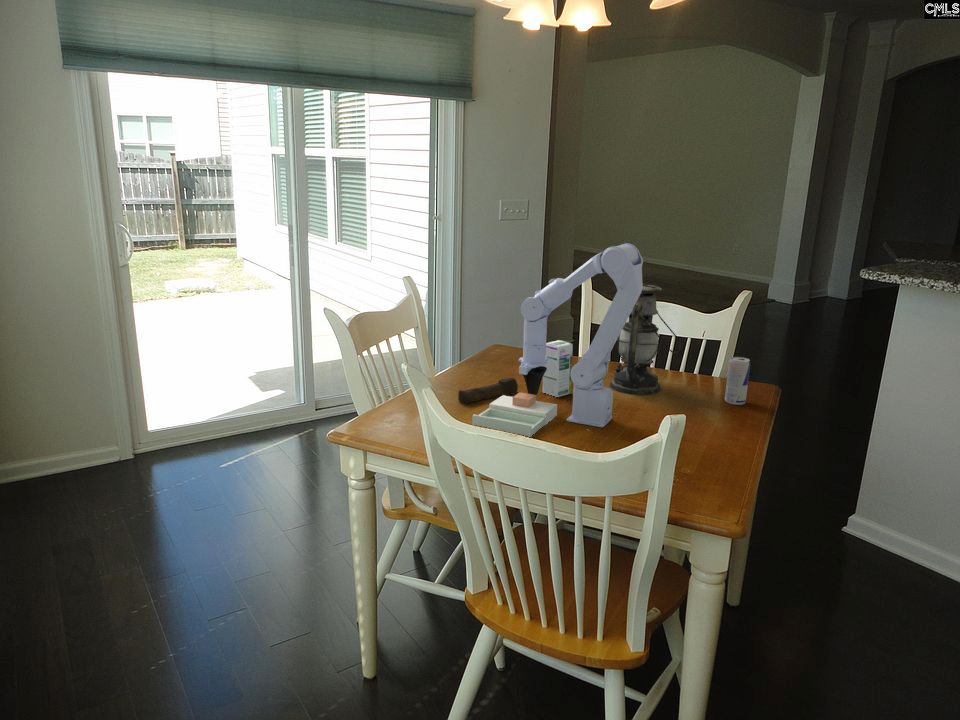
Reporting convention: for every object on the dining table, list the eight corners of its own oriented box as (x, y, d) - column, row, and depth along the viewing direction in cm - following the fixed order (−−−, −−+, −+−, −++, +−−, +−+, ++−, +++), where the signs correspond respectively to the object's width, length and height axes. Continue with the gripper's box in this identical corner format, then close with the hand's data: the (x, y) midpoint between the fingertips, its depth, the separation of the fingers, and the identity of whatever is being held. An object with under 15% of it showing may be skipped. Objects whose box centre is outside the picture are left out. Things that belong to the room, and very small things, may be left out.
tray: (544, 425, 170) (545, 414, 169) (530, 438, 162) (530, 425, 161) (488, 415, 176) (489, 404, 175) (472, 426, 168) (472, 415, 168)
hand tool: (465, 407, 183) (465, 390, 182) (457, 402, 186) (457, 386, 185) (523, 395, 193) (523, 379, 192) (514, 391, 196) (515, 375, 195)
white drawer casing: (556, 415, 177) (557, 404, 176) (545, 425, 170) (545, 413, 169) (502, 406, 183) (502, 395, 182) (489, 415, 176) (489, 403, 176)
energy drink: (748, 402, 190) (754, 359, 187) (740, 406, 186) (745, 363, 183) (729, 397, 193) (734, 355, 190) (721, 402, 190) (726, 359, 186)
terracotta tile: (535, 402, 177) (536, 395, 177) (529, 407, 173) (529, 399, 173) (519, 399, 179) (519, 392, 179) (512, 404, 175) (512, 397, 175)
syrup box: (557, 398, 190) (559, 346, 186) (541, 392, 195) (543, 342, 191) (571, 394, 194) (573, 343, 190) (555, 389, 198) (557, 339, 194)
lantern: (619, 375, 213) (626, 276, 205) (683, 384, 205) (693, 282, 197) (601, 392, 196) (608, 285, 188) (670, 402, 188) (680, 292, 180)
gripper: (531, 335, 185) (529, 384, 189) (508, 347, 173) (506, 399, 176) (556, 339, 182) (554, 388, 186) (534, 351, 170) (532, 404, 173)
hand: (532, 394), depth 181 cm, fingers closed
